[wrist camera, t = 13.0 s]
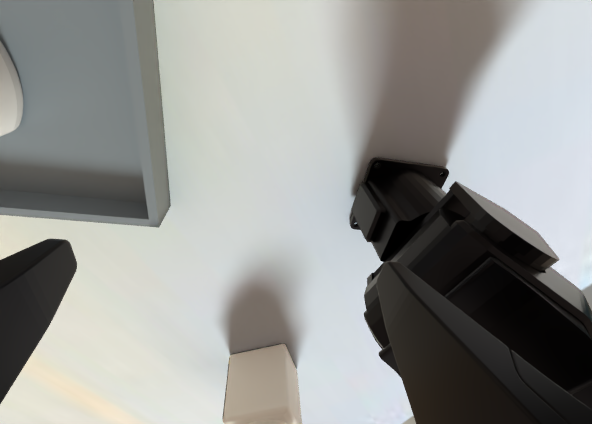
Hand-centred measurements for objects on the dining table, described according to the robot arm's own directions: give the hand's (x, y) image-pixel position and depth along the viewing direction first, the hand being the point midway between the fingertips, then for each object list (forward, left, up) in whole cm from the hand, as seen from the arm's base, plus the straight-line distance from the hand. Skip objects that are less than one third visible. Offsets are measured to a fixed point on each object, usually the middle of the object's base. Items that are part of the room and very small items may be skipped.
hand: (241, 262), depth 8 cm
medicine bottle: (-4, +30, -13) cm, 33 cm away
